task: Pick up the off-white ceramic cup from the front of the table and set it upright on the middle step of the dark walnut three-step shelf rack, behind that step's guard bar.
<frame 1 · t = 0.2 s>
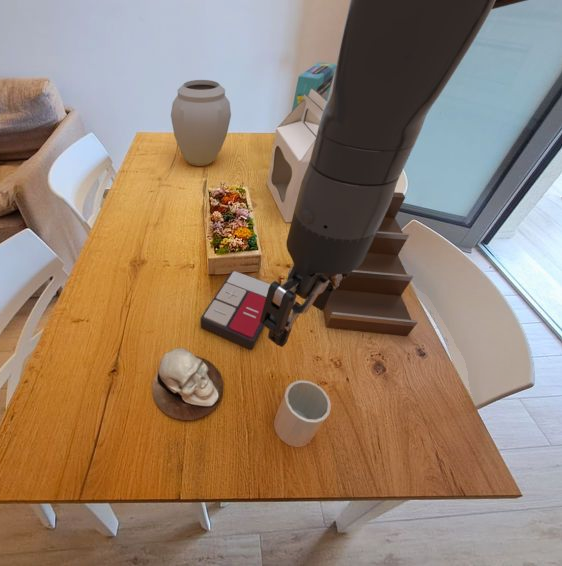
hand: (297, 322, 42), 19 cm above the table, tool pointing down, fingers open, 8 cm apart
calculator: (240, 313, 68), on the table
skull: (187, 387, 57), on the table
vase: (199, 162, 118), on the table
gable box: (296, 201, 99), on the table
cup: (293, 426, 51), on the table
shelf rack: (342, 251, 82), on the table
game box: (298, 156, 121), on the table
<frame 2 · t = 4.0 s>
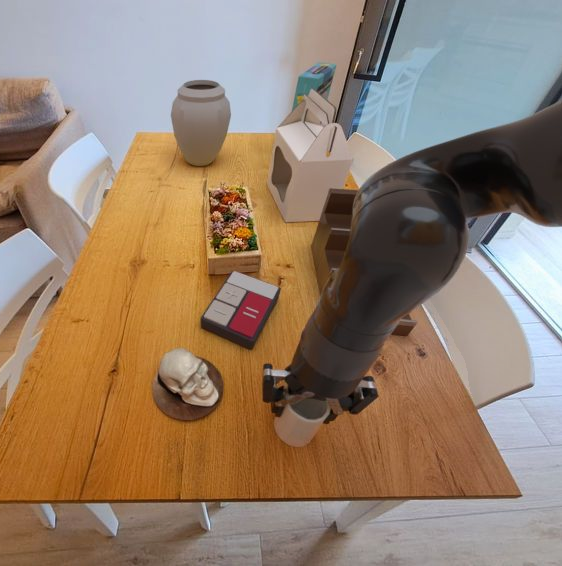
hand: (300, 414, 48), 5 cm above the table, tool pointing down, fingers closed on cup, 6 cm apart
cup: (293, 426, 51), on the table, touching gripper
everything else where it was.
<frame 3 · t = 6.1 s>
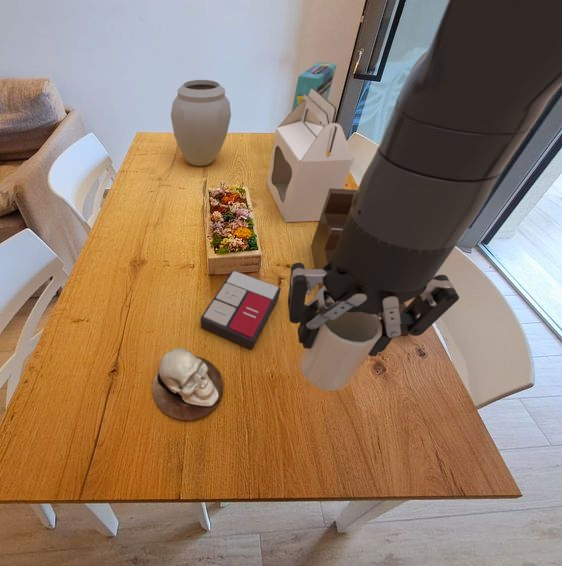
hand: (337, 345, 36), 22 cm above the table, tool pointing down, fingers closed on cup, 6 cm apart
cup: (325, 367, 40), point 17 cm above the table, touching gripper
everything else where it was.
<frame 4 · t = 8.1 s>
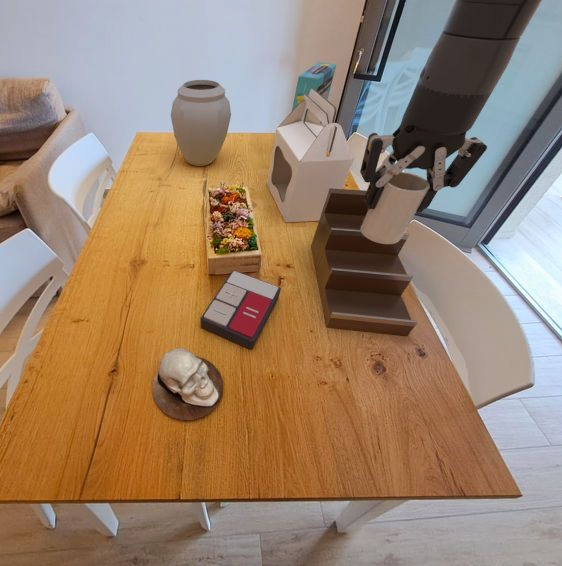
hand: (392, 207, 50), 25 cm above the table, tool pointing down, fingers closed on cup, 6 cm apart
cup: (380, 232, 53), point 20 cm above the table, touching gripper
everything else where it was.
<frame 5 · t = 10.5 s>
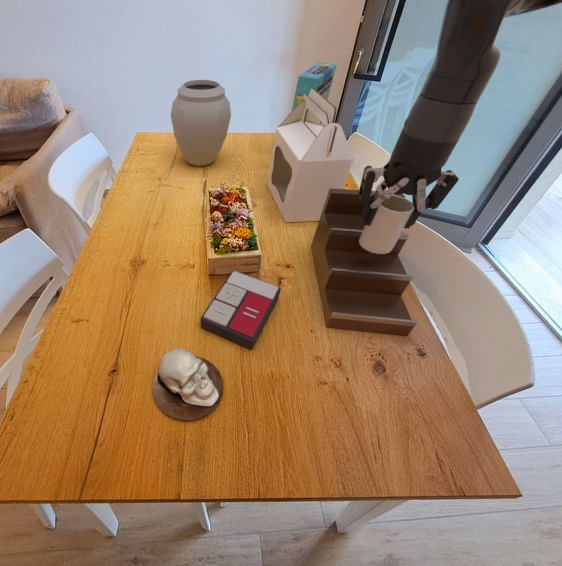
hand: (385, 224, 61), 17 cm above the table, tool pointing down, fingers closed on cup, 6 cm apart
cup: (375, 244, 64), point 12 cm above the table, touching gripper
everything else where it was.
when the fingers open (12 cm above the table, at t = 12.3 s): cup stays where it is, resting on shelf rack.
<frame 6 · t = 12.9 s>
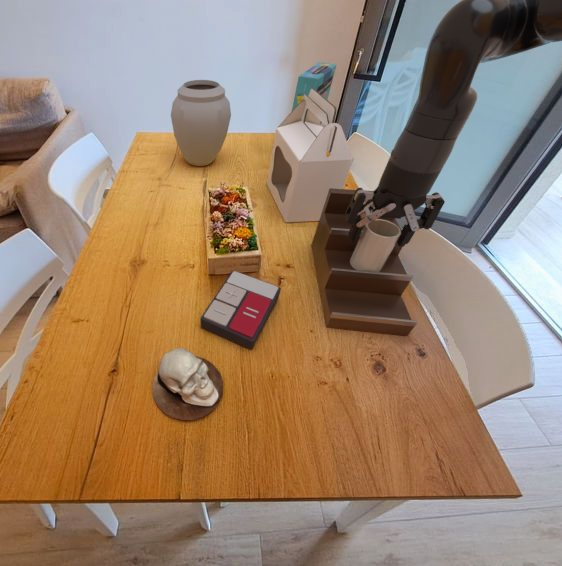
hand: (376, 242, 64), 13 cm above the table, tool pointing down, fingers open, 8 cm apart
cup: (365, 264, 68), point 7 cm above the table, touching shelf rack
everything else where it was.
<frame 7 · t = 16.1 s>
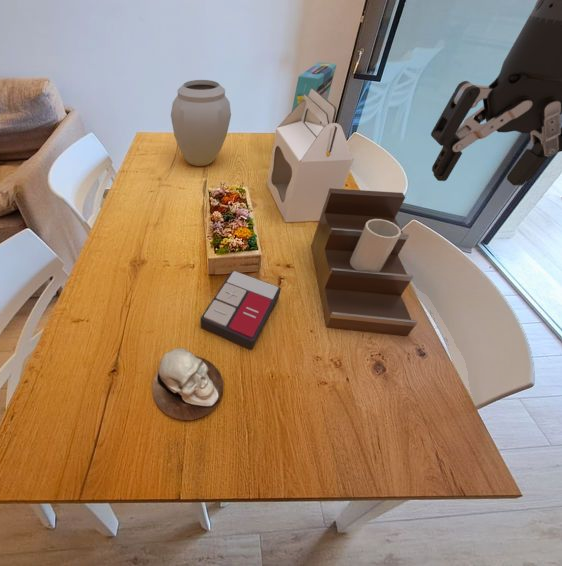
hand: (475, 180, 41), 32 cm above the table, tool pointing down, fingers open, 8 cm apart
nothing on the table moved.
at the end: cup 0.1 cm from the target spot on the shelf rack, point 7.0 cm above the shelf rack's base; cup tilted 0°; the gripper is holding nothing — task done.
